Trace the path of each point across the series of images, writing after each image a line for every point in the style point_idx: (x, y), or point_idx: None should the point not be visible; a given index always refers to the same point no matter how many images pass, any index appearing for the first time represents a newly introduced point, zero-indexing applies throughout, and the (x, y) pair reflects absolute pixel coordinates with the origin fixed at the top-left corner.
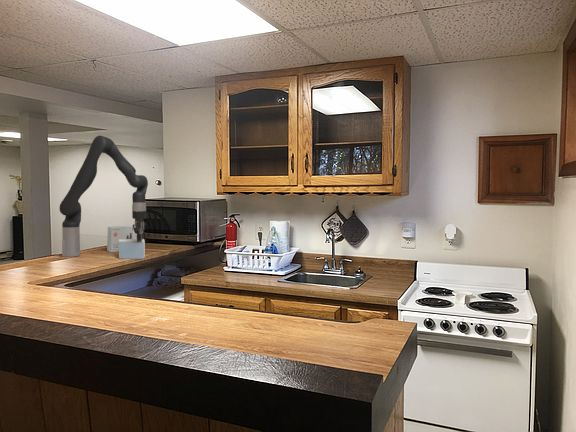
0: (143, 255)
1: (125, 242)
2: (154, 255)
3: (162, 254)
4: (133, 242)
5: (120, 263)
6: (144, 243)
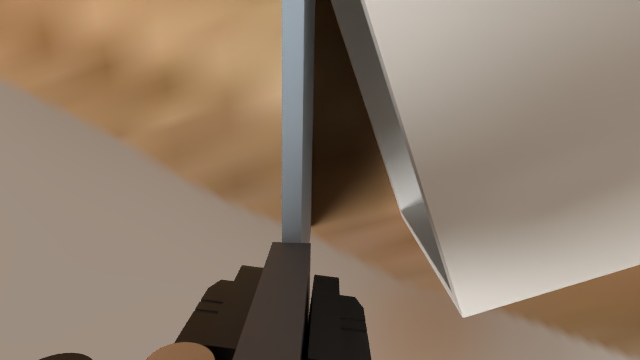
0: (423, 205)
1: (284, 17)
2: None
3: (580, 328)
4: (283, 175)
5: (49, 84)
6: (445, 288)
